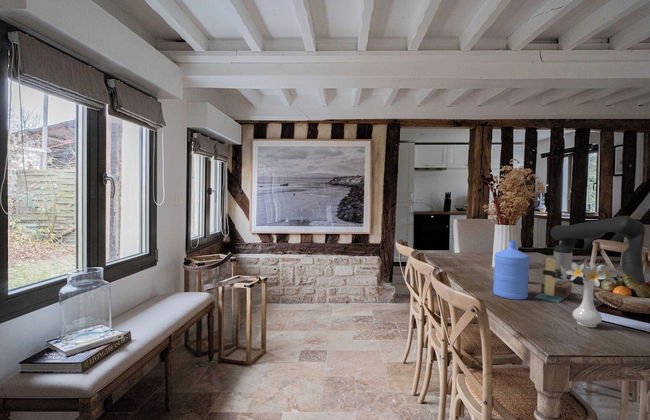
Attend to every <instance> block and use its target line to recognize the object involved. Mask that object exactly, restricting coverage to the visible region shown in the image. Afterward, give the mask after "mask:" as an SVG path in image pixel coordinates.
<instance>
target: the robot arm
mask: <svg viewBox="0 0 650 420" xmlns="http://www.w3.org/2000/svg"><path fill="white" fill-rule="evenodd" d="M606 233H615V234H618V235H619V236H621V237H624V238H626V239H627V241H628V247H627V248H626V249H625V250H623V253H622V255H621V268H622V274H623V273H624V272H625V274H627V276H629V277H630V276H631V277H633V278H632V279H635V280H637V282H638V281H639V283H641V284H643V285H645V286H646V279H645V274H644V262H643V247H644V243H645V242H644V241H645V234H646V227H645V225H644V223H642V222H641V221H639V220H636V219H635V218H633V217H631V216H628V215H619V216H614V217H611V218H607V219H601V220H595V221H594V220H593V221H585V222H580V223H575V224H570V225H563V224H561V225H555V226H553V227H552V229H551V230H550V235H551V238H552V239H554V240H556V241H557V242H560V244H558V245H555V246H554V247H553V258H557V272H556V271H548V270H545V269H543V271H542V275H544V276H545V275H550V276H552V277H553V278H557V279H556V282H560V283H571V282H572V281H573V284H574V285H578V286H583V287H584V282H583V278H582V277H583V276H582V277H579V276H578V277H576V278H575V279H574V280H571V276H572V275H569V274H568V276H567V277H566V279H565V281H564V282H563V276H564V275H562V273H561V270H562V269H561V266H562V267H563V268H564V269H565V270H566V271H568V270H573V269H572V263H573V252H574V249H575V244H576V239H579V240H592V239H593V240H595V239H601V237H603V236H604V235H605V234H606ZM560 265H561V266H560ZM555 274H557V276H556V275H555ZM583 275H584V276H586V275H585V274H583ZM612 278H613V279H615V280H618V279H619V278H618V277H617V276H616V277H612ZM598 280H599V283H600V286H599V287H597V286H595V285H594V288H600V287H601V282H602V281H603V280H604V279H598ZM623 283H624V282H623ZM600 289H601V288H600Z"/></svg>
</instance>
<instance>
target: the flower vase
mask: <svg viewBox="0 0 650 420" xmlns="http://www.w3.org/2000/svg"><path fill="white" fill-rule="evenodd" d="M588 265H589V266H586V262H585V261H584V262H583V263H581V264H580V265H579V266H578V265H577V263H575V262H572V270H568V271H566V270H565V269H564V268H563V267H562V266H561V265H560V266H561V269H562V270H561V273H562V275H564V276H563V282H562V283H565V282H564V281H565V279H566V277H567V276H568V274H569V275H572V276H571V281H573V280H574V279H575V278H576V277H578V276H579V277H582V276H583V277H582V278H583V282H584V286H583V293H582V294H583V295H582V301H581V302H580V304H579V306H578V307H576V308H575V309H574V310H573V311H572V317H573V319H575V321H576V323H577V324H578V325H580V326H583V327H584V328H585V327H586V328H596V327H597V325H599V324H600V323H602V321H603V317H602V315H601V313H600V312H599V311H598V310H597V309H596V307H595V304H594V288H595V287H594V285H595V286H597V287H596V288H599V286H600V283H599V280H598V279H605V278H606V279H607V280H611V281H612V282H613V283H615V284H616V281H615V280H614V279H613V278H612V277H617V276H618V273H616V272H614V271H611V266H610V264H609V263H608V264H606V265H605V264H600V265H598V266H597V265H596V264H595V262H593V261H589V264H588ZM583 274H585V275H586V276H584V275H583Z"/></svg>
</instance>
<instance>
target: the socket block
mask: <svg viewBox="0 0 650 420" xmlns="http://www.w3.org/2000/svg"><path fill="white" fill-rule="evenodd" d="M544 289H545V281H544V282H541V283H540V293H544ZM571 294H572V283H567V282H561V281H556V295H554V296H560V297H564V299H567V298H568V297H570V296H571Z"/></svg>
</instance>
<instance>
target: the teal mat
mask: <svg viewBox="0 0 650 420" xmlns="http://www.w3.org/2000/svg"><path fill="white" fill-rule="evenodd" d="M535 299H538V300H543V301H549V302H552V303H553V302H554V303H558V304H559V303H561V302H562V301H563V300H564V299H565V298H564V297H560V296H551V295H545V294H544V293H541V292H540V293H539V294H537V295H535Z"/></svg>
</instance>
